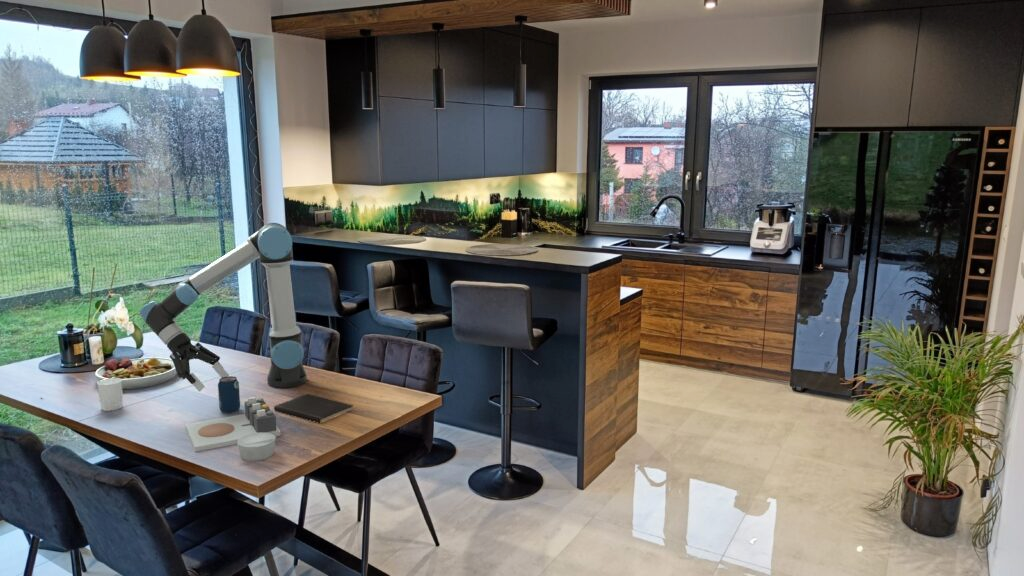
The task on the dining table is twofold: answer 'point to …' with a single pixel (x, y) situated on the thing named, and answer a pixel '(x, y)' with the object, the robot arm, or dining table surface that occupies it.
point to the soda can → (229, 394)
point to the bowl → (138, 371)
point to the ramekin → (256, 446)
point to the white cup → (110, 393)
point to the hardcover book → (313, 408)
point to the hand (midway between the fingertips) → (214, 383)
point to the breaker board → (233, 426)
